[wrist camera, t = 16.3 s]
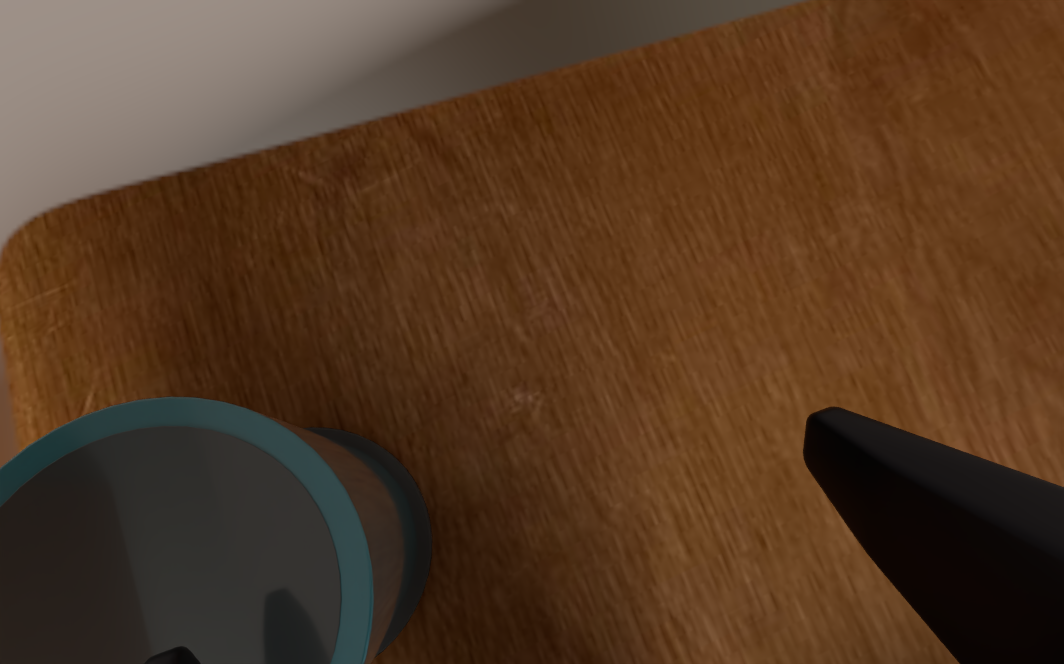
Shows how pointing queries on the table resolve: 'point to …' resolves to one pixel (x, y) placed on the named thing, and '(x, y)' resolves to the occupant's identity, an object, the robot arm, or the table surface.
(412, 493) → the coaster
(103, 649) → the cup
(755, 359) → the table surface
